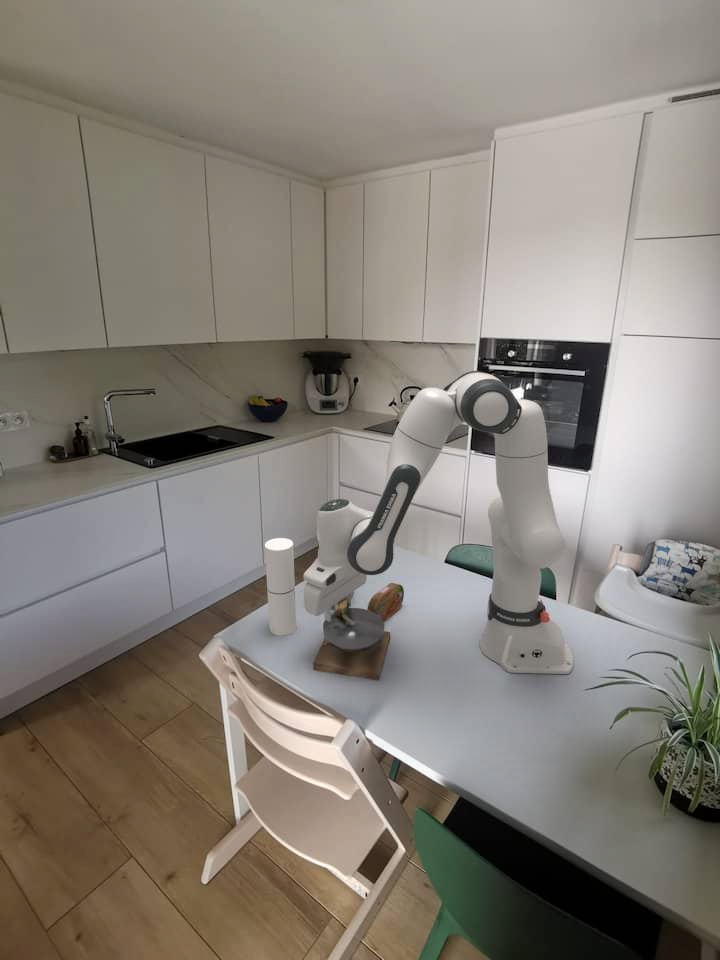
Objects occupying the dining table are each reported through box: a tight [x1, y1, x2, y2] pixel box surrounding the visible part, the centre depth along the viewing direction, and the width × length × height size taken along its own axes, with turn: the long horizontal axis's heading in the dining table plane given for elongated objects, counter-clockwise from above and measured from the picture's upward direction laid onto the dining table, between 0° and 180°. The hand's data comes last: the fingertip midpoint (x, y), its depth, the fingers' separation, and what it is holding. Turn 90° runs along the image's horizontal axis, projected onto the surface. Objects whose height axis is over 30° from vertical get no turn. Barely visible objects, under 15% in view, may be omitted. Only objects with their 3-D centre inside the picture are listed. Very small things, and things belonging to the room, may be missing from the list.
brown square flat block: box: [312, 630, 391, 681], centre depth 124 cm, size 16×16×6 cm
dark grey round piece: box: [322, 598, 385, 652], centre depth 122 cm, size 15×15×6 cm
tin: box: [367, 582, 405, 623], centre depth 139 cm, size 15×3×8 cm, turn 143°
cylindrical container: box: [264, 537, 297, 637], centre depth 130 cm, size 7×7×25 cm
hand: (338, 613), depth 125 cm, fingers open, 5 cm apart
